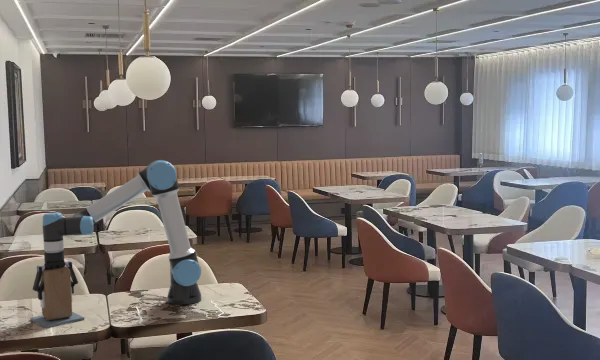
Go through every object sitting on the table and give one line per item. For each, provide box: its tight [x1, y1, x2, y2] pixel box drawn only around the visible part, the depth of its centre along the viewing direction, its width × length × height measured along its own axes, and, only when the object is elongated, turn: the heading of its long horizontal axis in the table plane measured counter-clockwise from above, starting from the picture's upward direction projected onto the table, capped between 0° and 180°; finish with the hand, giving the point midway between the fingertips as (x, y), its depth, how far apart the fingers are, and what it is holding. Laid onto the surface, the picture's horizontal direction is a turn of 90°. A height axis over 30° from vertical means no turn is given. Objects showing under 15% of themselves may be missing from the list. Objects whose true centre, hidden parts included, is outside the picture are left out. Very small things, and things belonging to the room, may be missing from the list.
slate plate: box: [29, 311, 86, 329], centre depth 271 cm, size 16×16×1 cm
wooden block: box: [40, 265, 73, 320], centre depth 270 cm, size 10×10×20 cm
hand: (56, 304), depth 271 cm, fingers closed on wooden block, 10 cm apart
